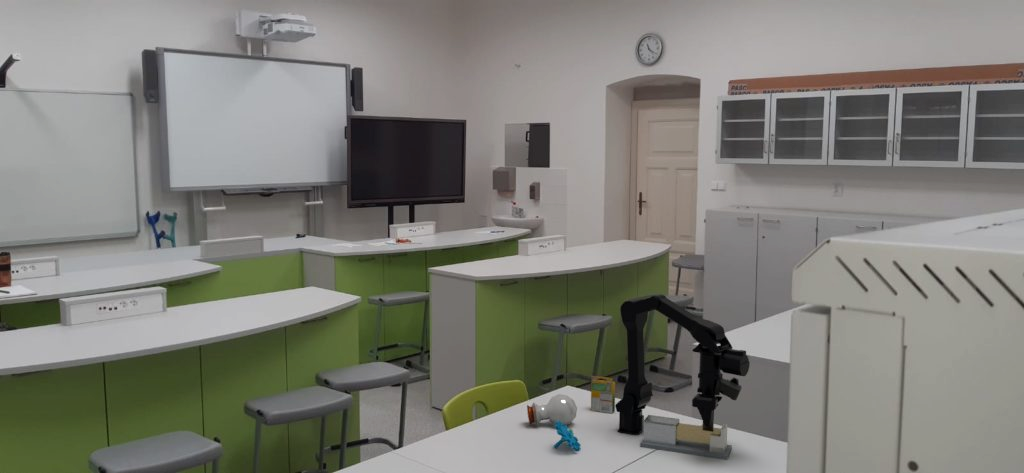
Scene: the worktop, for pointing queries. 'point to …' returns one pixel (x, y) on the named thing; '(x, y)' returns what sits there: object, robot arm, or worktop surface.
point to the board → (689, 448)
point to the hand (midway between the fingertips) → (708, 424)
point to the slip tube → (697, 432)
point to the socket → (719, 441)
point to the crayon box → (602, 395)
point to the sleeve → (660, 430)
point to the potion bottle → (553, 410)
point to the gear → (566, 436)
